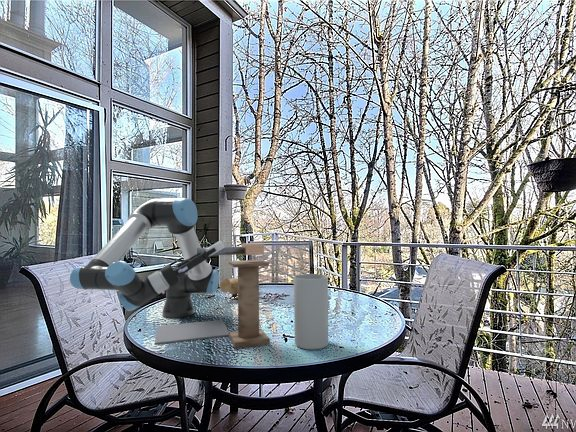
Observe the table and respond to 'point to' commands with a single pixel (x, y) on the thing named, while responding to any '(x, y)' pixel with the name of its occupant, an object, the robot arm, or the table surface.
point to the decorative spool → (230, 286)
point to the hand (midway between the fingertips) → (222, 243)
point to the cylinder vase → (311, 311)
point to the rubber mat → (190, 331)
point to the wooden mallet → (238, 250)
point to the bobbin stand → (248, 305)
